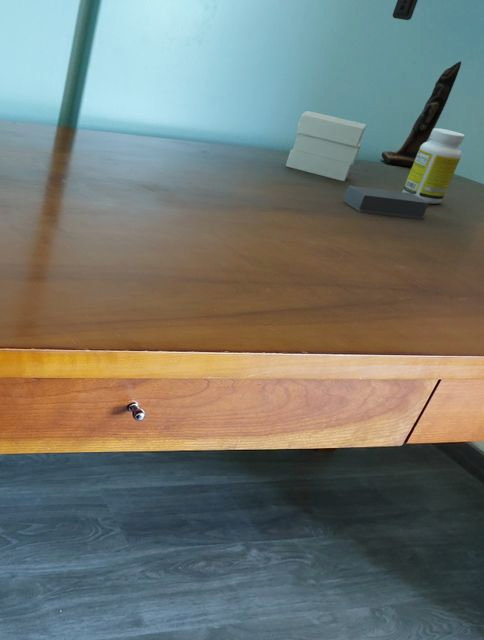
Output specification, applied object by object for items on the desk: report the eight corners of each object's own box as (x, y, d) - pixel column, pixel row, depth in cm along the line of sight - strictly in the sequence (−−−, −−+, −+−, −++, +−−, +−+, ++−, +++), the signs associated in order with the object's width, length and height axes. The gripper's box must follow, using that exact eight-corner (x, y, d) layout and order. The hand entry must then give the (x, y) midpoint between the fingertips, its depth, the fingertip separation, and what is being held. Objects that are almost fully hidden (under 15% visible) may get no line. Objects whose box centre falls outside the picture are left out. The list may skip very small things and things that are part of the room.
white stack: (348, 177, 127) (361, 143, 124) (346, 182, 124) (359, 146, 121) (289, 162, 131) (301, 128, 128) (285, 166, 127) (296, 131, 124)
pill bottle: (445, 202, 122) (474, 135, 116) (434, 207, 117) (464, 138, 112) (407, 190, 125) (434, 125, 120) (395, 195, 121) (423, 127, 115)
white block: (359, 142, 125) (366, 124, 123) (356, 146, 120) (363, 128, 119) (301, 128, 128) (307, 110, 127) (295, 132, 124) (301, 114, 122)
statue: (378, 158, 146) (419, 53, 137) (413, 164, 146) (457, 59, 137) (385, 164, 143) (429, 56, 133) (421, 170, 143) (467, 62, 133)
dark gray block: (402, 219, 108) (413, 193, 106) (419, 230, 104) (431, 203, 102) (338, 211, 106) (348, 185, 104) (353, 222, 102) (364, 195, 100)
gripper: (476, -111, 96) (426, 23, 103) (473, -96, 107) (429, 23, 115) (415, -117, 98) (370, 14, 106) (419, -102, 110) (379, 15, 117)
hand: (401, 19), depth 110 cm, fingers open, 8 cm apart
